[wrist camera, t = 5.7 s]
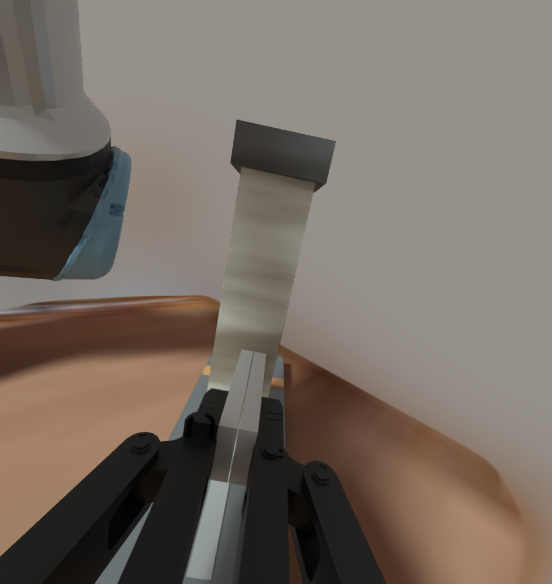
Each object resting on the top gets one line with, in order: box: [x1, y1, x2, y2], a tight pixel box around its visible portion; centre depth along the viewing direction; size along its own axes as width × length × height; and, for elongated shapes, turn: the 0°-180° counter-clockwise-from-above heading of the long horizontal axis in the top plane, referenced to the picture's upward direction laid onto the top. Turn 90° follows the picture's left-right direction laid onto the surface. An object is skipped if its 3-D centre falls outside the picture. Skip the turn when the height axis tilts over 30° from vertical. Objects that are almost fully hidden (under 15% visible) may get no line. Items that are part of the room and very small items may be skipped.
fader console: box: [96, 353, 286, 584], centre depth 24 cm, size 26×9×2 cm, turn 179°
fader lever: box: [207, 120, 336, 470], centre depth 19 cm, size 5×5×21 cm
